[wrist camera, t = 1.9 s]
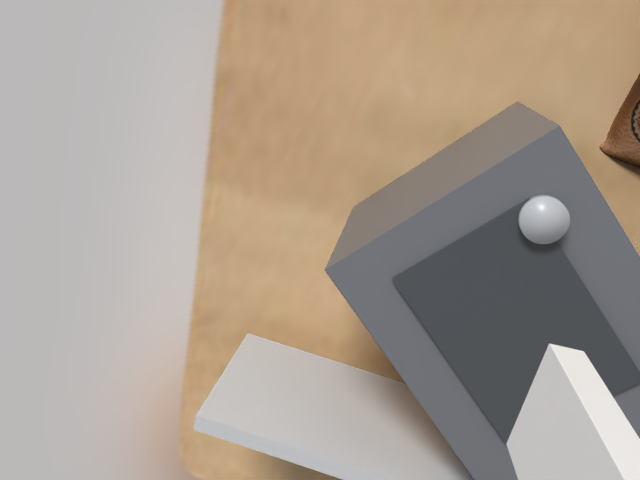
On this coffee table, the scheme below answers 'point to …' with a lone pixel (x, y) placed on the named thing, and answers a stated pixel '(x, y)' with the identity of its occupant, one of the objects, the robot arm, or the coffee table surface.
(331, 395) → the door
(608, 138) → the sunglasses case
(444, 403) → the panel
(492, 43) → the coffee table surface
